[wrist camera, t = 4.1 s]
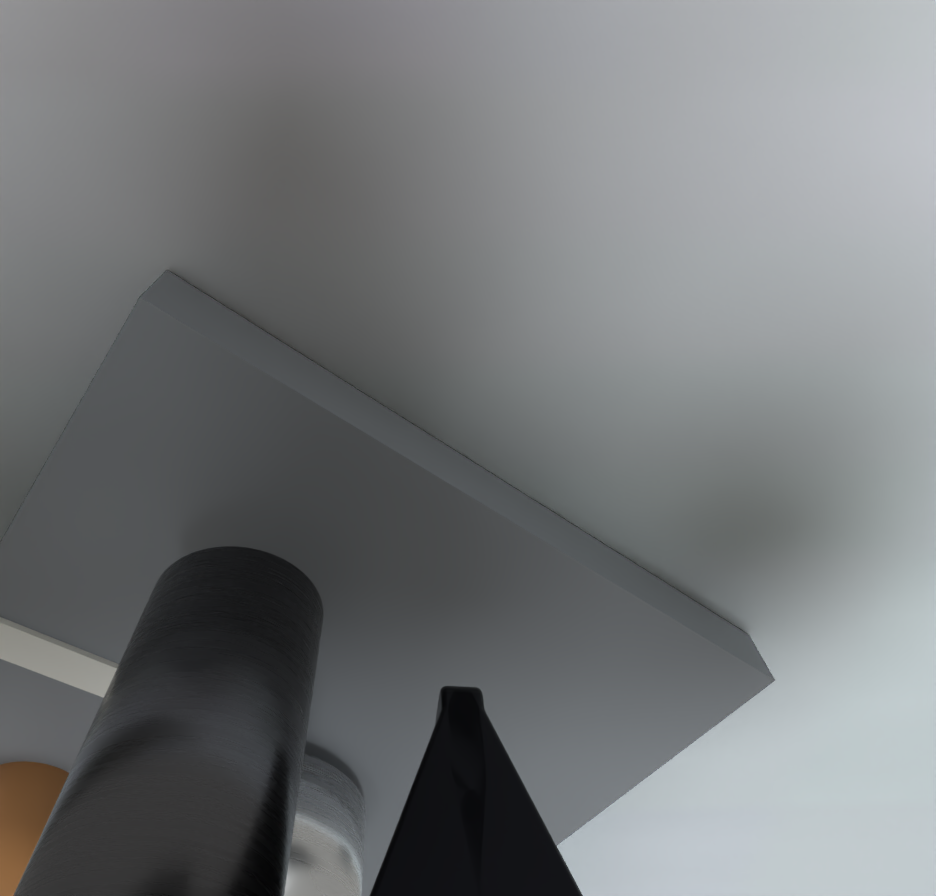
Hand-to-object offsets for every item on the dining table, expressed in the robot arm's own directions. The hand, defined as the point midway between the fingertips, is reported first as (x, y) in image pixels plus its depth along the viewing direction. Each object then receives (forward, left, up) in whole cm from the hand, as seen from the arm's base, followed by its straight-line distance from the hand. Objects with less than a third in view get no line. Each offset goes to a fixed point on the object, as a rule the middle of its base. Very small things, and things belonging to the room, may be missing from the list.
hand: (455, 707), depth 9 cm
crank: (-5, +1, -3) cm, 6 cm away
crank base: (-7, -1, -4) cm, 8 cm away
